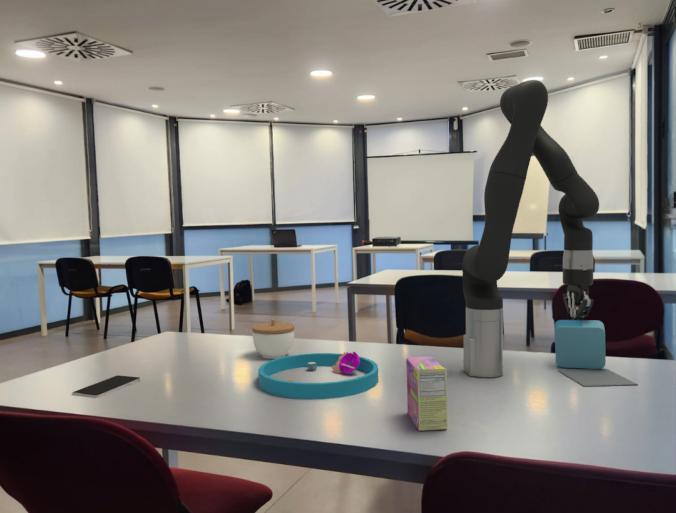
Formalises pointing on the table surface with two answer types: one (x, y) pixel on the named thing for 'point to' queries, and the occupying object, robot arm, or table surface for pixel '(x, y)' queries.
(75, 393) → the smartphone
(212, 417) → the table surface
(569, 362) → the teal rounded block
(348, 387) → the teal ring
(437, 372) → the box
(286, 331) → the lidded bowl
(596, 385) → the slate mat
